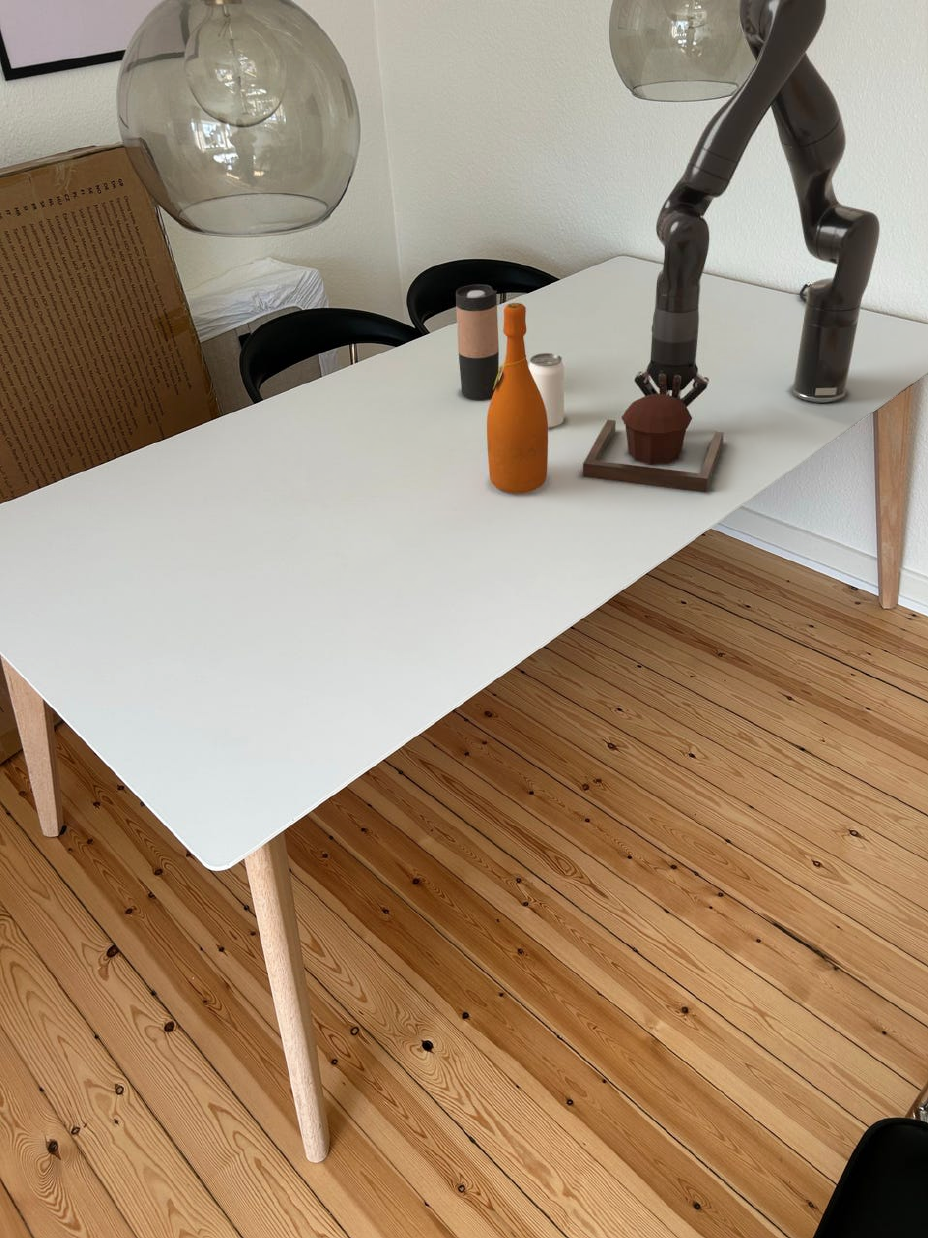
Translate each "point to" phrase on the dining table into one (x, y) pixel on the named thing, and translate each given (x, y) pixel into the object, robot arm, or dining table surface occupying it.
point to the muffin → (656, 428)
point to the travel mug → (477, 340)
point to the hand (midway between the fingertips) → (668, 426)
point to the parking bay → (648, 474)
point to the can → (550, 384)
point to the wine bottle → (517, 416)
